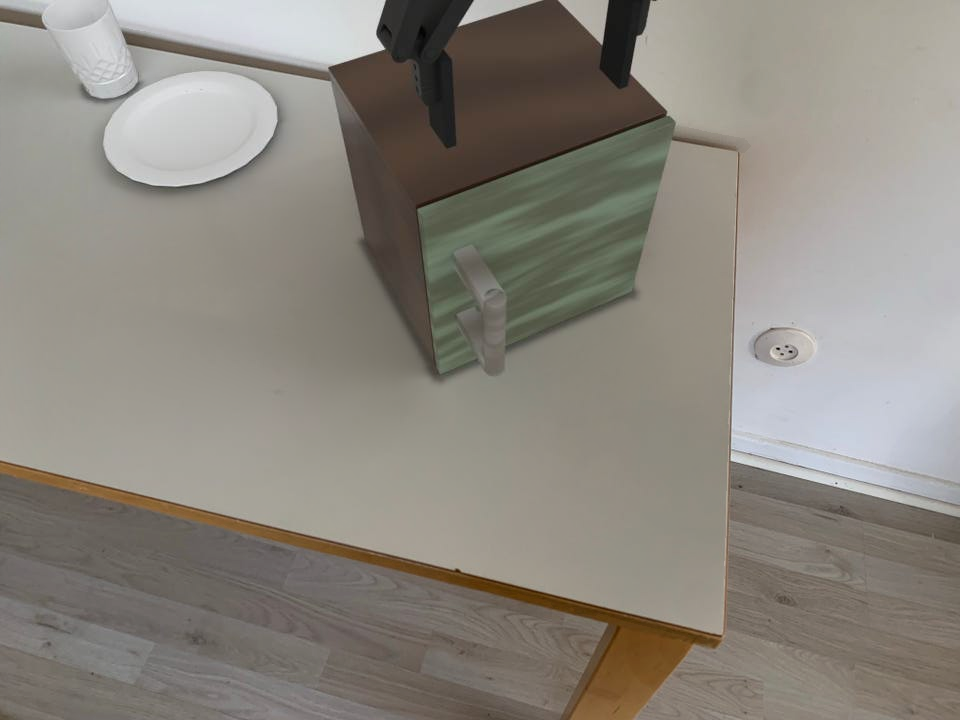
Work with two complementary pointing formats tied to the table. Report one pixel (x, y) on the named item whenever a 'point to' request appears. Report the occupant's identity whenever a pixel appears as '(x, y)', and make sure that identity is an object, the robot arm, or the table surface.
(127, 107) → the plate
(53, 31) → the white cup
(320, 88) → the table surface
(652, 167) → the cupboard door
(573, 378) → the table surface
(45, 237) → the table surface
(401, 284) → the cupboard
